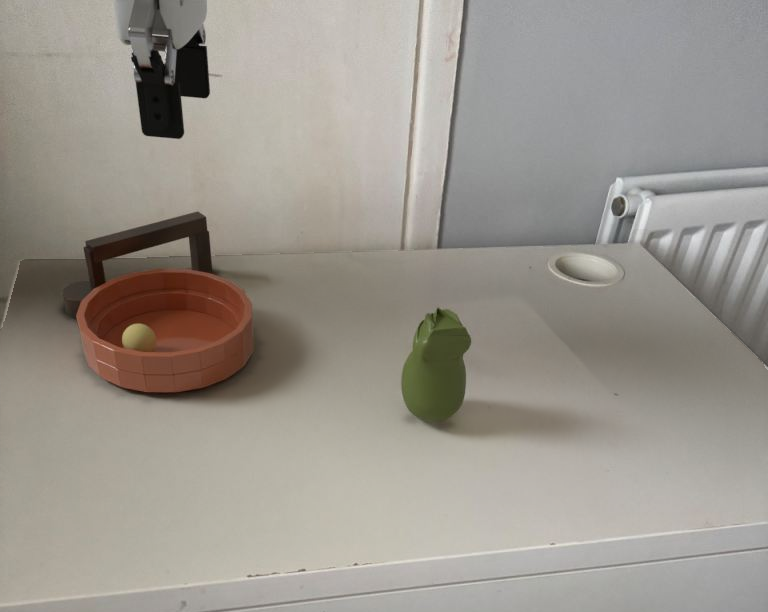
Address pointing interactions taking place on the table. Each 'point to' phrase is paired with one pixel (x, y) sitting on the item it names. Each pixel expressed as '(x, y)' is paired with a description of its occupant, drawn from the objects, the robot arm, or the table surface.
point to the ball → (139, 338)
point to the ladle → (136, 241)
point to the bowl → (167, 329)
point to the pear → (436, 367)
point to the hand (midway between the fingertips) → (178, 115)
